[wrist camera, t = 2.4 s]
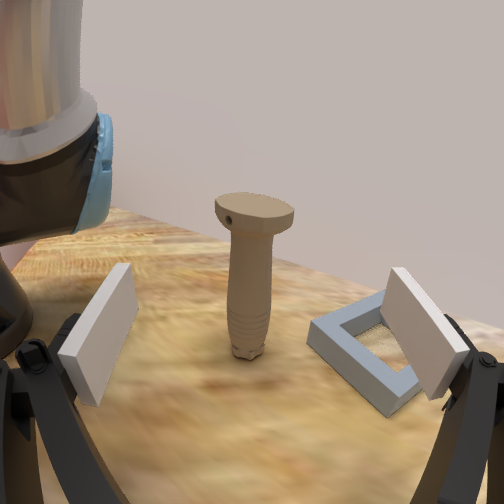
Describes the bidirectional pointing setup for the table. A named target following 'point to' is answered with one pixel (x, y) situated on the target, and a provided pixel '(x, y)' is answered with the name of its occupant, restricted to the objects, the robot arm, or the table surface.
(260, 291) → the handle
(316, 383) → the table surface
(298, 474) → the table surface
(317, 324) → the socket block
